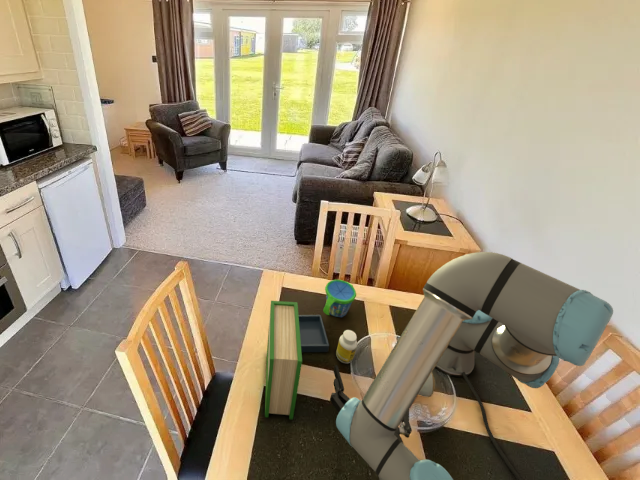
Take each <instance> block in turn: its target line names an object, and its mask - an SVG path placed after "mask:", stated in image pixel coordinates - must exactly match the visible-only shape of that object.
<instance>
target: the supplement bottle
mask: <svg viewBox="0 0 640 480" xmlns="http://www.w3.org/2000/svg"><path fill="white" fill-rule="evenodd" d="M342 333H343V334H341V335H340V337H339V339H338V343H337V347H336V351H335V355H336V357H337V360H338V361H339V362H341V363H342V364H350V363H352V362H353V360H354V358H355V355H356V351H357V348H358V341H357V339H358V337H357V336H358V335H357V334H356V332H355V331H354V330H351V329H345V330H344V331H343V332H342Z"/></svg>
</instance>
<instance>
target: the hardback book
mask: <svg viewBox="0 0 640 480" xmlns="http://www.w3.org/2000/svg"><path fill="white" fill-rule="evenodd" d="M298 315H299V305H298V302H297V301H296V302H295V301H285V300H284V301H281V300H270V309H269V321H268V334H267V345H266V359H265V360H266V361H265V363H266V364H265V398H264V399H265V401H264V402H265V403H264V418H269V414H273V415H285V416H288V420H294V415H295V408H296V402H297V395H298V390H299V385H300V377H301V371H302V364H303V355H302V353H303V352H301V340H300V328H299V316H298Z"/></svg>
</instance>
